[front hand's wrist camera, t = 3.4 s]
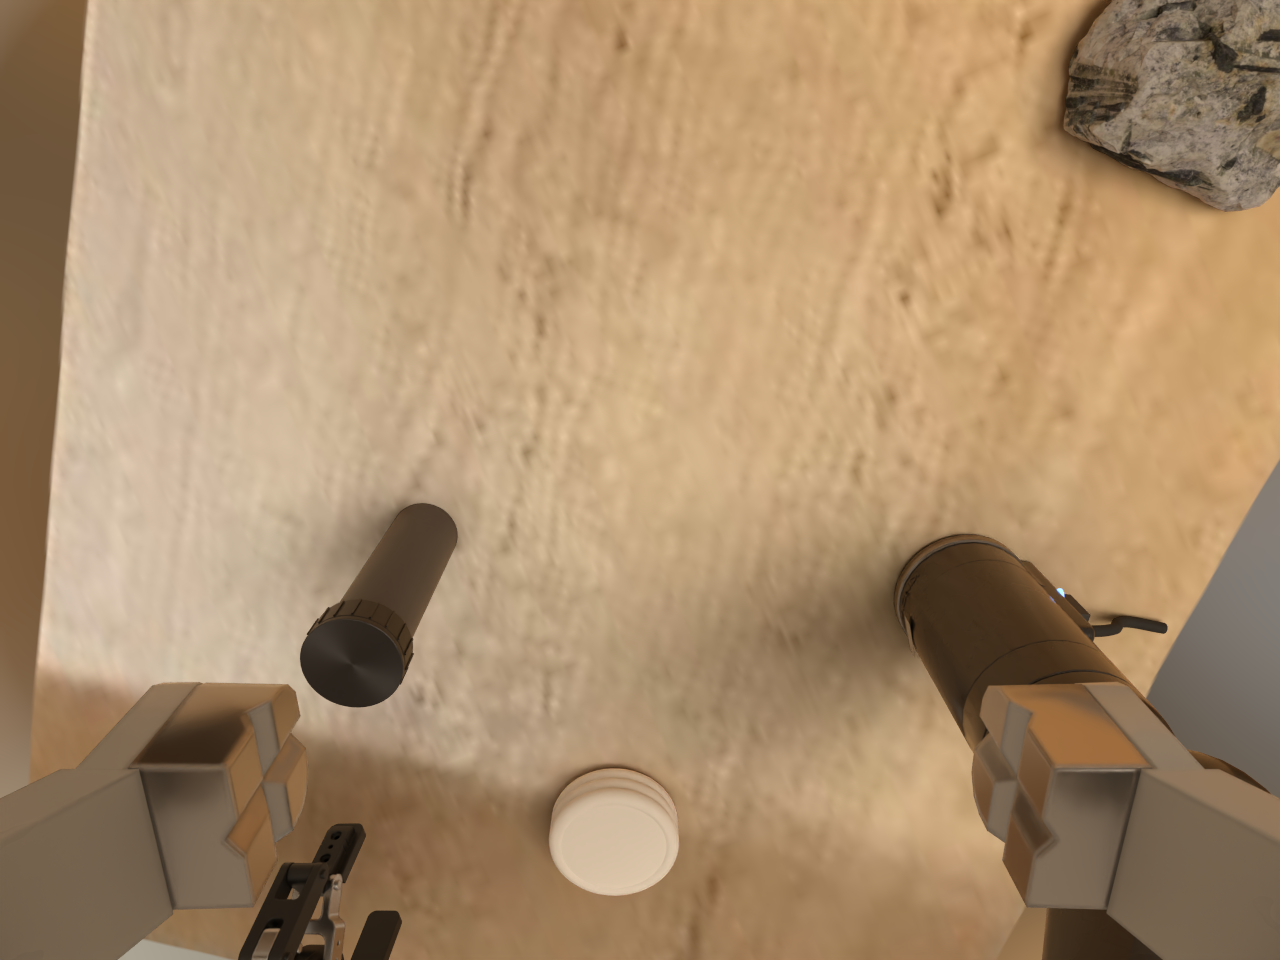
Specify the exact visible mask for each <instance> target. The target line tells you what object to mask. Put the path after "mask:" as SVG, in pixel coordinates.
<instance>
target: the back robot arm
mask: <svg viewBox="0 0 1280 960" xmlns="http://www.w3.org/2000/svg"><path fill="white" fill-rule="evenodd" d="M894 607H895V612H896V616H897V618H898V621H899V623H900V624H901V626H902V628H903V630H904V632H905V633H906V635H907V636H908V639H909V645H910V650H911V652H912V653H913V655H914V657H915V654H914V648H913V645H914V647H915V649H916V651H917V653H918V655H919V656H920V658H921V660H922V662H923V664H924V665H925V667H926V669H927V671H928V673H929V674H930V676H931V678H932V680H933V682H934V683H935V685H936V687H937V689H938V691H939V692H940V694H941V696H942V698H943V700H944V701H945V703H946V705H947V707H948V709H949V710H950V712H951V714H952V716H953V718H954V719H955V721H956V723H957V725H958V727H959V728H960V730H961V732H962V734H963V736H964V737H965V739H966V741H967V743H968V745H969V746H970V748H971V750H972V751H973V753H974V748H975V747H976V746H977V745H978V744H979V743H980V742H981V741H982V740H983V739H984V738H985V737H986V736H987V735H988V734H989V731H988V729H987V728H986V726H985V724H984V723H983V721H982V719H981V717H980V711H981V705H982V699H983V696H984V694H985V692H986V690H987V688H988V686H998V685H1047V684H1075V683H1098V682H1119V683H1121V684H1124V685H1126V686H1128V687H1129V688H1130V689H1131V690H1132V691H1133V692H1134V693H1135V694H1136V695H1137V696H1138V697H1139V698H1140V699H1141V701H1142V702H1143V703H1144V704H1145V705H1146V706H1147V707H1148V708H1149V709H1150V710H1151V711H1152V712H1153V714H1154V715H1155V716H1156V717H1157V718H1158V719H1159V720H1160V721H1161V722H1162V723H1163V724H1164V725H1165V727H1166V728H1167V729H1168V730H1169V731H1170V732H1171V733H1172V734H1173V732H1172V730H1171V729H1170V727H1169V725H1168V724H1167V723H1166V721H1165V720H1164V719H1163V718H1162V716H1161V715H1160V714H1159V713H1158V712H1157V710H1156V709H1155V708H1154V707H1153V706H1152V705H1151V704H1150V703H1149V702H1148V700H1147V699H1146V698H1145V697H1144V696H1143V695H1142V694H1141V693H1140V692H1139V691H1138V690H1137V689H1136V688H1135V687H1134V686H1133V684H1132V683H1131V682H1130V681H1129V680H1128V679H1127V678H1126V677H1125V676H1124V675H1123V674H1122V673H1121V672H1120V670H1119V669H1118V668H1117V667H1116V666H1115V665H1114V664H1113V663H1112V662H1111V661H1110V660H1109V659H1108V658H1107V657H1106V656H1105V655H1104V653H1103V652H1102V651H1101V650H1100V649H1099V648H1098V647H1097V646H1096V645H1095V644H1094V643H1093V641H1094V637H1104V636H1111V635H1115V634H1118V633H1120V632H1121V630H1122V629H1123V627H1130V628H1137V629H1142V630H1147V631H1152V632H1157V633H1163V634H1164V633H1166V632H1167V624H1165V623H1162V622H1156V621H1151V620H1147V619H1142V618H1136V617H1128V616H1121V617H1117V618H1115V619H1113V621H1112V623H1111V624H1108V625H1095V626H1091V625H1090V624H1089V623H1088V620H1089V617H1090V614H1089V613H1088V612H1087V611H1086V610H1085V609H1084V608H1083V607H1082V606H1081V605H1080V604H1079V603H1078V602H1077V601H1076V600H1075V599H1074V598H1073V597H1072V596H1071V595H1068V594H1064V592H1063V590H1062V589H1061V588H1060V589H1056V588H1055V587H1054V586H1053V585H1052V584H1051V583H1050V582H1049V581H1048V580H1047V579H1046V578H1045V577H1044V576H1043V574H1042V573H1041V572H1040V571H1039V570H1038V569H1037V568H1036V567H1035V566H1034V565H1033V564H1032V563H1031V562H1025V561H1020V560H1019V559H1018V558H1017V557H1016V556H1015V554H1014V553H1013V552H1012V551H1011V550H1010V549H1008V548H1007V547H1006V546H1004V545H1003V544H1001V543H1000V542H998V541H996V540H993V539H991V538H988V537H984V536H978V535H958V536H952V537H948V538H945V539H942V540H939V541H937V542H935V543H933V544H931V545H929V546H927V547H926V548H924V549H923V550H921V551H920V552H919V553H918V554H916V555H915V556H914V557H913V558H912V559H911V560H910V561H909V563H908V564H907V565H906V567H905V568H904V570H903V571H902V573H901V575H900V577H899V579H898V582H897V585H896V588H895V594H894ZM1173 735H1174V734H1173ZM1174 736H1175V735H1174ZM1188 752H1189V753H1190V754H1191V755H1192V756H1193V757H1194V758H1195V759H1196V760H1197V761H1198V762H1199V763H1200V765H1201V766H1202V767H1203V768H1204V769H1220V770H1222V771H1224V772H1226V773H1228V774H1230V775H1232V776H1234V777H1236V778H1238V779H1240V780H1242V781H1244V782H1247V783H1249V784H1251V785H1253V786H1255V787H1257V788H1259V789H1261V790H1263V791H1265V792H1267V793H1269V792H1268V791H1267V790H1266V789H1265V788H1264V787H1263V786H1261V785H1260V784H1259V783H1258V782H1256V781H1255V780H1254V779H1252V778H1251V777H1250V776H1248V775H1247V774H1246V773H1244V772H1243V771H1241V770H1239V769H1237V768H1235V767H1234V766H1232V765H1230V764H1228V763H1226V762H1225V761H1223V760H1220V759H1217V758H1214V757H1212V756H1209V755H1206V754H1203V753H1200V752H1196V751H1191V750H1188ZM1269 794H1270V793H1269ZM365 837H366V834H365V831H364V829H363V826H362V825H361V824H336V825H334V826H332V827H331V828H330V829H329V830H328V831H327V833H326V835H325V837H324V840H323V841H322V845H321V846H320V848H319V850H318V852H317V854H316V856H315V858H314V860H313V862H312V863H284V864H283V865H282V866H281V868H280V870H279V872H278V874H277V876H276V878H275V880H274V883H273V885H272V887H271V889H270V891H269V893H268V895H267V897H266V899H265V901H264V903H263V905H262V908H261V910H260V912H259V914H258V916H257V918H256V920H255V922H254V924H253V926H252V928H251V930H250V933H249V935H248V937H247V939H246V941H245V943H244V945H243V947H242V949H241V951H240V954H239V958H238V960H344V957H343V954H342V950H343V942H344V933H345V922H344V921H343V919H341V918H340V917H339V908H340V900H341V892H342V883H345V882H346V880H347V878H348V875H349V873H350V871H351V869H352V866H353V864H354V862H355V860H356V857H357V855H358V853H359V851H360V848H361V846H362V844H363V842H364V839H365ZM292 888H293V895H292V899H287V898H288V895H289V893H290V891H291V889H292ZM320 896H324V898H323V905H322V913H321V917H320V918H319V919H311V917H312V915H313V912H314V910H315V908H316V905H317V903H318V901H319V898H320ZM401 924H402V920H401V918H400V915H399V913H398V912H397V911H374V912H372V913H371V914H370V915H369V916H368V918H367V921H366V923H365V926H364V928H363V931H362V933H361V935H360V938H359V940H358V943H357V945H356V948H355V950H354V953H353V955H352V958H351V960H389V957H390V954H391V951H392V949H393V946H394V943H395V940H396V938H397V935H398V932H399V929H400V927H401ZM304 934H319V935H321V936H323V938H324V940H325V945H306V946H304V947H302V944H301V941H302V938H303V936H304ZM1042 960H1163V959H1161V958H1160V957H1159V956H1158V955H1157V954H1155V953H1154V952H1153V951H1152V950H1150V949H1149V948H1148V947H1147V946H1146V945H1144V944H1143V943H1142V942H1141V941H1140V940H1138V939H1137V938H1136V937H1135V936H1133V935H1132V934H1131V933H1130V932H1129V931H1127V930H1126V929H1125V928H1124V927H1123V926H1121V925H1120V924H1119V923H1118V922H1116V921H1115V920H1114V919H1113V918H1112V917H1110V916H1109V915H1108V914H1107V910H1103V909H1068V908H1047V913H1046V924H1045V934H1044V944H1043V954H1042Z"/></svg>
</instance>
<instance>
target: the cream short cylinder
mask: <svg viewBox="0 0 1280 960" xmlns="http://www.w3.org/2000/svg"><path fill="white" fill-rule="evenodd" d="M549 848H550V852H551V856H552V859H553V861H554V863H555V865H556V867H557V868H558V869H559V871H560V872H561V873H562V874H563V875H564V876H565V877H566V878H567V879H568V880H569V881H570V882H572V883H573V884H575V885H576V886H578V887H580V888H582V889H584V890H587V891H590V892H593V893H597V894H602V895H615V896H617V895H627V894H632V893H636V892H639V891H642V890H644V889H647V888H649V887H651V886H653V885H654V884H656V883H657V882H659V881H660V880H661V879H662V878H663V877H664V876H665V875H666V874H667V873H668V872H669V870H670V869H671V867H672V866H673V864H674V862H675V860H676V857H677V853H678V849H679V836H678V817H677V812H676V808H675V806H674V803H673V801H672V799H671V798H670V796H669V794H668V793H667V792H666V791H665V789H664V788H663V787H662V786H661V785H660V784H659V783H657V782H656V781H654V780H653V779H652V778H650V777H648V776H646V775H644V774H641V773H639V772H636V771H632V770H628V769H619V768H610V769H601V770H596V771H593V772H590V773H587V774H585V775H583V776H581V777H579V778H577V779H575V780H574V781H573V782H571V783H570V784H569V785H568V786H567V787H566V788H565V789H564V790H563V791H562V792H561V794H560V795H559V797H558V799H557V800H556V802H555V805H554V807H553V811H552V820H551V825H550V833H549Z"/></svg>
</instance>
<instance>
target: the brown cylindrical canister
mask: <svg viewBox="0 0 1280 960" xmlns="http://www.w3.org/2000/svg"><path fill="white" fill-rule="evenodd" d="M457 537H458V536H457V528H456V525H455V523H454V521H453V520H452V518H451V517H450V516H449V515H448V514H447V513H446V512H445V511H444V510H442V509H441V508H439V507H436V506H434V505H430V504H415V505H411V506H409V507H407V508H405V509H404V510H402V511H401V512H400V513H399V514H398V516H397V517H396V519H395V520H394V522H393V523H392V525H391V526H390V528H389V529H388V531H387V532H386V534H385V535H384V537H383V538H382V540H381V541H380V543H379V544H378V546H377V547H376V549H375V550H374V552H373V553H372V555H371V556H370V558H369V559H368V561H367V562H366V564H365V565H364V567H363V568H362V570H361V571H360V573H359V574H358V576H357V577H356V579H355V580H354V582H353V583H352V585H351V586H350V588H349V589H348V591H347V592H346V594H345V595H344V597H343V598H342V600H341V601H340V602H342V601H343V600H344V601H347V600H354V599H363V600H370V601H374V602H379V603H380V604H382V605H385V606H386V607H388V608H390V609H391V610H393V611H395V613H396V614H398V615H399V616H400V617H401V619H402V620H403V621H404V622H405V623H406V624H407V627H408V629H409V631H410V634H411V637H412V638H413V636H414V633H415V631H416V629H417V627H418V625H419V623H420V621H421V618H422V616H423V614H424V612H425V610H426V608H427V606H428V604H429V601H430V599H431V597H432V595H433V593H434V591H435V589H436V586H437V584H438V582H439V580H440V578H441V576H442V574H443V571H444V569H445V567H446V565H447V563H448V561H449V559H450V556H451V554H452V552H453V550H454V548H455V546H456V543H457Z"/></svg>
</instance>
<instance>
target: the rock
mask: <svg viewBox="0 0 1280 960" xmlns="http://www.w3.org/2000/svg"><path fill="white" fill-rule="evenodd" d="M1069 77H1070V80H1069V83H1068V95H1067V97H1066V99H1065V100H1066V107H1067V108H1066V112H1065V117H1064V130H1065V131H1067V132H1068V133H1070V134H1071V135H1072V136H1076V137H1077V138H1079V139H1080V140H1082V141H1086V142H1089V143H1090V144H1091V146H1092V148H1093V149H1096V150H1098V151H1100V152H1103V153H1105V154H1107V155H1109V156H1110V157H1112V158H1114V159H1115V160H1117V161H1118V162H1120V163H1121V164H1122V165H1125V166H1127V167H1129V168H1131V169H1136V170H1141V171H1144V172H1146V173H1148V174H1150V175H1152V176H1153V177H1155V178H1156V179H1157V180H1159V181H1160V182H1162V183H1164V184H1166V185H1168V186H1170V187H1172V188H1177V189H1180V190H1183V191H1185V192H1187V193H1189V194H1191V195H1193V196H1195V197H1198V198H1200V200H1201V201H1203V202H1204V203H1206V204H1208V205H1211V206H1213V207H1214V208H1217V209H1219V210H1222V211H1225V212H1227V211H1242V210H1246V209H1250V208H1254V207H1258V206H1260V205H1262V204H1264V203H1265V202H1266V201H1267V200H1268V199H1269V198H1270V197H1271V196H1272V195H1273V193H1274V192H1275V190H1276V189H1277V188H1278V187H1279V186H1280V0H1112V1H1111V3H1110V4H1109V5H1108V6H1107V7H1106V8H1105V9H1104V11H1103V13H1101V14H1100V15H1099V16H1098V17H1097V18H1096V19H1095V21H1094V22H1093V24H1092V26H1091V28H1090V29H1089V31H1088V33H1087V35H1086V36H1085V37H1084V38H1083V39H1082V40H1081V41H1080V42H1079V43H1078V45H1077V47H1076V49H1075V52H1074V54H1073V56H1072V58H1071V60H1070V63H1069Z"/></svg>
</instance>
